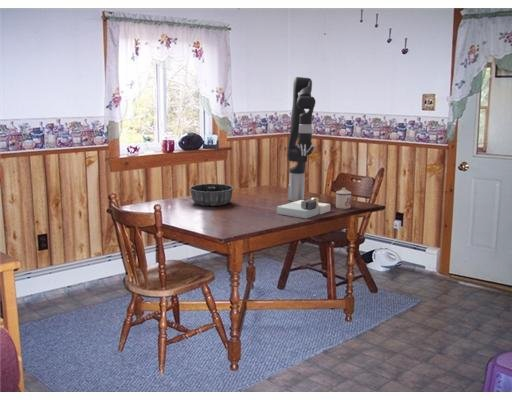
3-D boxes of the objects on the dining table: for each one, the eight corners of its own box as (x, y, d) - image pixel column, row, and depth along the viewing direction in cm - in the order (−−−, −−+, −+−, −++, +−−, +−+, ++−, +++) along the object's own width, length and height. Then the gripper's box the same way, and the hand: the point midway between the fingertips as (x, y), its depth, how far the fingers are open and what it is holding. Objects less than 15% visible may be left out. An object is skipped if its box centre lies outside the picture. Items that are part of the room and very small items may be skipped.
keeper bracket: (307, 209, 338) (307, 202, 337) (312, 207, 342) (313, 200, 342) (310, 210, 336) (310, 202, 336) (316, 208, 341) (316, 201, 340)
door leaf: (276, 213, 345) (276, 206, 344) (289, 209, 355) (289, 203, 355) (306, 218, 334) (306, 211, 333) (318, 214, 345) (318, 207, 344)
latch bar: (313, 203, 351) (313, 197, 350) (319, 204, 349) (319, 197, 348) (300, 207, 339) (300, 201, 339) (306, 208, 337) (306, 201, 336)
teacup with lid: (347, 209, 358) (348, 189, 355) (333, 207, 362) (333, 188, 360) (354, 206, 368) (355, 186, 366) (340, 204, 372) (341, 185, 370)
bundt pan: (214, 210, 354) (214, 193, 352) (180, 204, 369) (180, 187, 367) (242, 203, 374) (242, 186, 372) (209, 197, 390) (209, 182, 388)
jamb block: (290, 209, 356) (290, 202, 355) (300, 206, 365) (300, 199, 364) (320, 214, 345) (320, 207, 344) (330, 210, 354) (330, 204, 353)
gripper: (291, 131, 353) (291, 162, 356) (311, 133, 345) (311, 164, 348) (298, 131, 359) (298, 160, 362) (318, 132, 351) (317, 162, 354)
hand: (304, 162), depth 355 cm, fingers closed
